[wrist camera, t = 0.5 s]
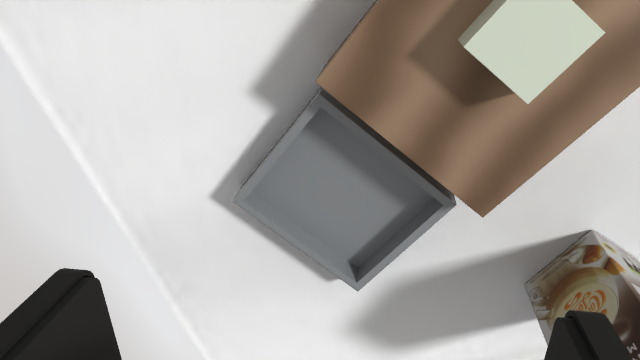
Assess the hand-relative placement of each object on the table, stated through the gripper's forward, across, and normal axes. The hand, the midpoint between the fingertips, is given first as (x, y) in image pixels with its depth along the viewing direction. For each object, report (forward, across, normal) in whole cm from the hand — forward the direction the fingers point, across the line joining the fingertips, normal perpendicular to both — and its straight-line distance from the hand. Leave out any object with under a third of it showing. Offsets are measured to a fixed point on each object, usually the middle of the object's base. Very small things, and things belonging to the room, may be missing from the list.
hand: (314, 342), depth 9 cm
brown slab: (+34, -9, -1) cm, 35 cm away
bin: (+34, +3, +14) cm, 36 cm away
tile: (+28, -10, -2) cm, 30 cm away
